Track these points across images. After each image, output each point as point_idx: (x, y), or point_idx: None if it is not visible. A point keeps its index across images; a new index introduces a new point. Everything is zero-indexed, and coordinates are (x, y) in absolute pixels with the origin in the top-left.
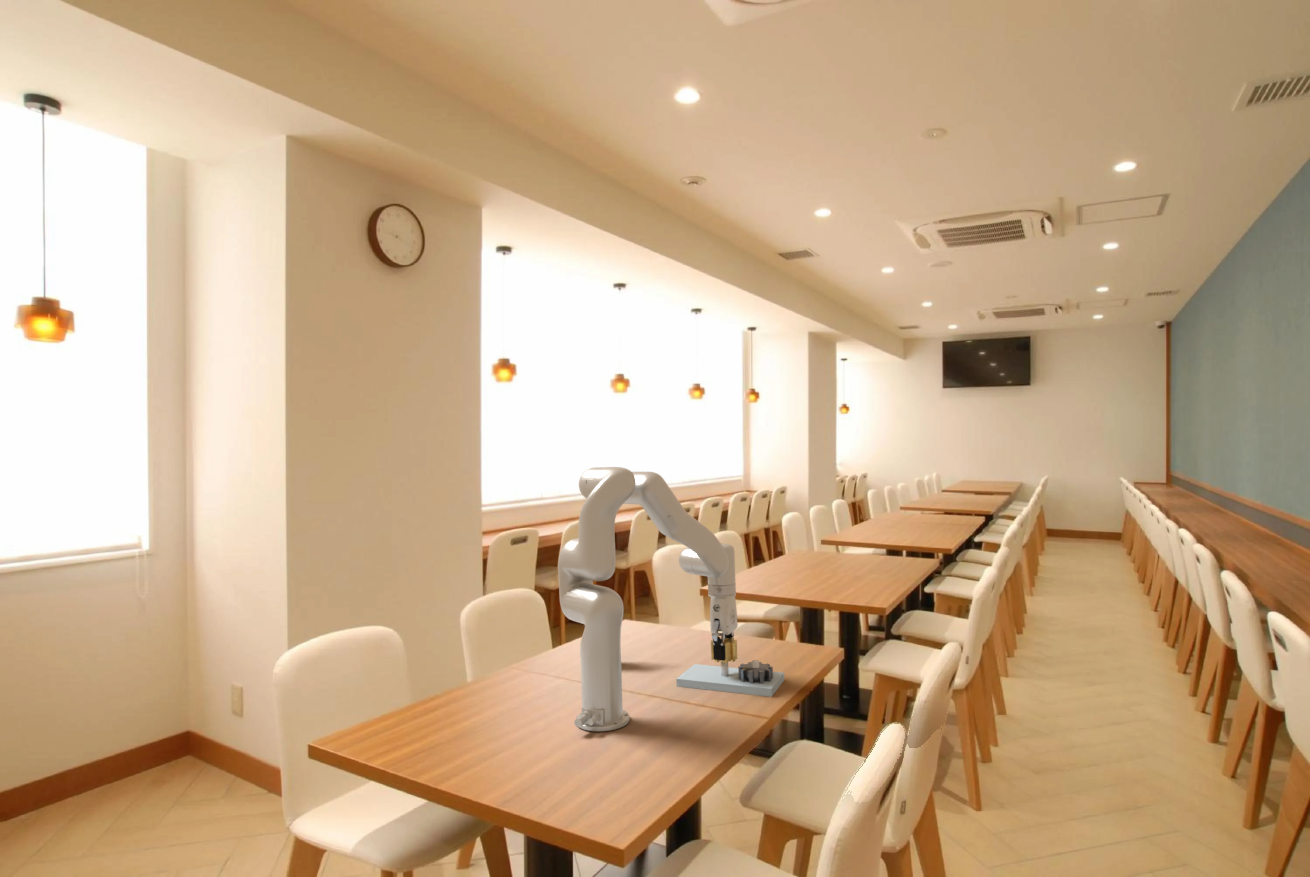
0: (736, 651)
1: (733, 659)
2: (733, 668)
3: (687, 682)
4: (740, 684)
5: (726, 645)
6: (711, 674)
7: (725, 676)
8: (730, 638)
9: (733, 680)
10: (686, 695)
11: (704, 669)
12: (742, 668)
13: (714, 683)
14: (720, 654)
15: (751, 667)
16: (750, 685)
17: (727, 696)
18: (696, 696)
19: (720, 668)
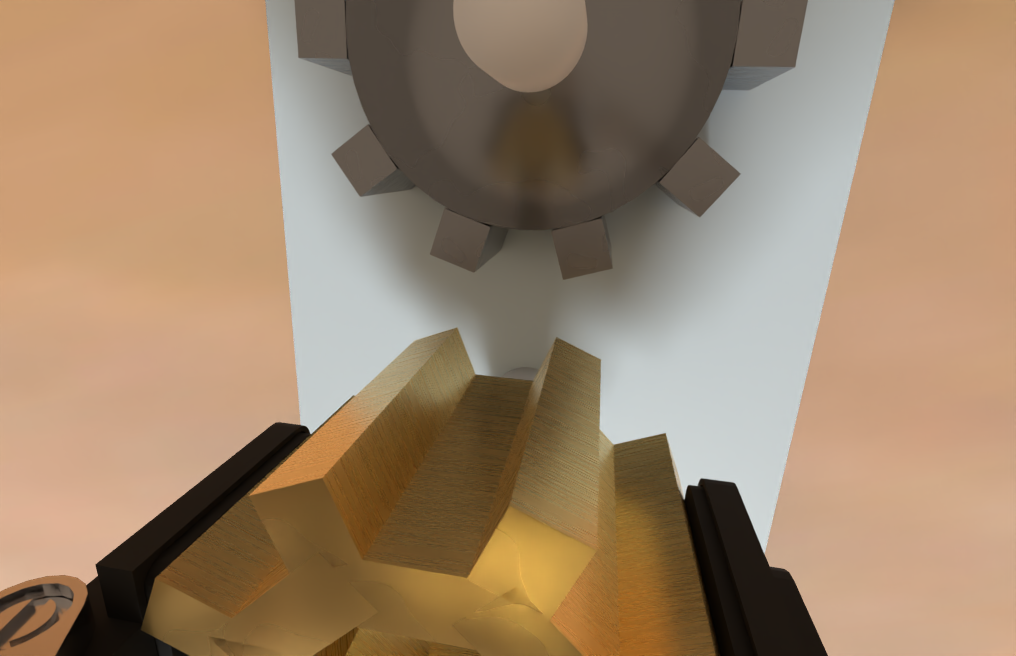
0: (423, 379)
1: (594, 368)
2: (316, 362)
3: None
4: (807, 182)
5: (618, 632)
6: None
7: None
8: (206, 630)
9: (680, 287)
10: (923, 601)
11: None
12: (607, 212)
13: (786, 448)
14: (799, 610)
15: (571, 84)
16: (837, 51)
17: (924, 278)
18: (944, 529)
19: None
